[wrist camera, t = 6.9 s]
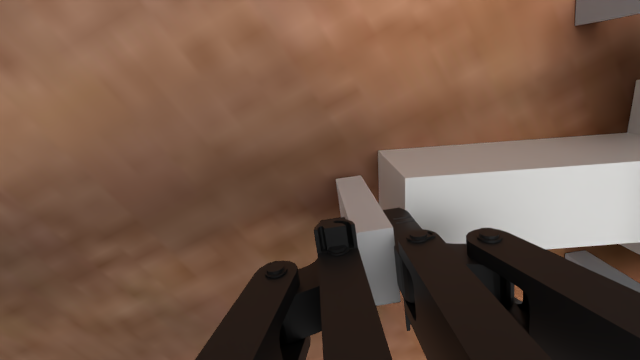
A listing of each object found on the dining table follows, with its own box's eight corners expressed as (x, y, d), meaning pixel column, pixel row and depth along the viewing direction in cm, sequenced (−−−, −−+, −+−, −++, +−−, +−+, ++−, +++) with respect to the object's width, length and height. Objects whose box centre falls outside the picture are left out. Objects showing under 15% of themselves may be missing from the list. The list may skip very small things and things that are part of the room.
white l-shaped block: (380, 255, 20) (405, 316, 15) (376, 97, 18) (405, 105, 13) (650, 235, 21) (768, 288, 15) (684, 76, 18) (839, 74, 13)
